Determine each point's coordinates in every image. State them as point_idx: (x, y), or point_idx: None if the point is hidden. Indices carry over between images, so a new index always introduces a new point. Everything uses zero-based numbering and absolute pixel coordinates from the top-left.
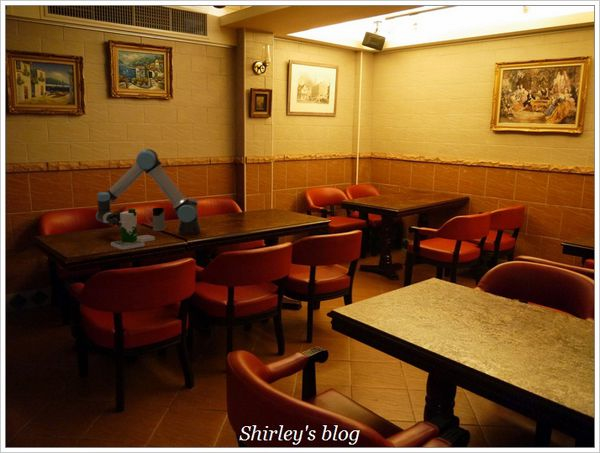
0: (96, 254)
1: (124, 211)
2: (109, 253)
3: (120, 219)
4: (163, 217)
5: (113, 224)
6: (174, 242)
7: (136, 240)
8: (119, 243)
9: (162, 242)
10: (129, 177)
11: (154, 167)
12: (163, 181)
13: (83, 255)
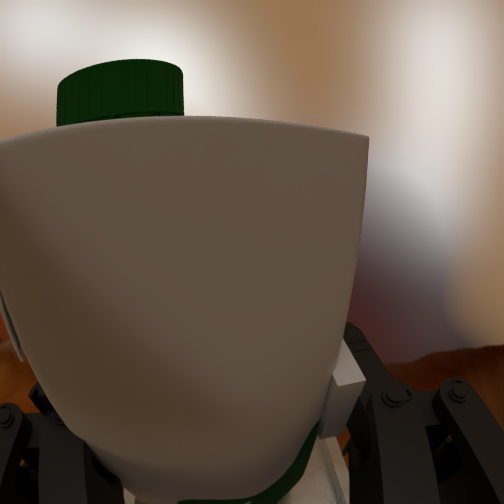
0: (448, 370)
1: (65, 128)
2: (392, 368)
3: (346, 315)
4: None
5: (447, 471)
6: (15, 364)
7: (134, 496)
8: None
9: (30, 403)
10: None
11: None
12: None
13: (492, 370)
